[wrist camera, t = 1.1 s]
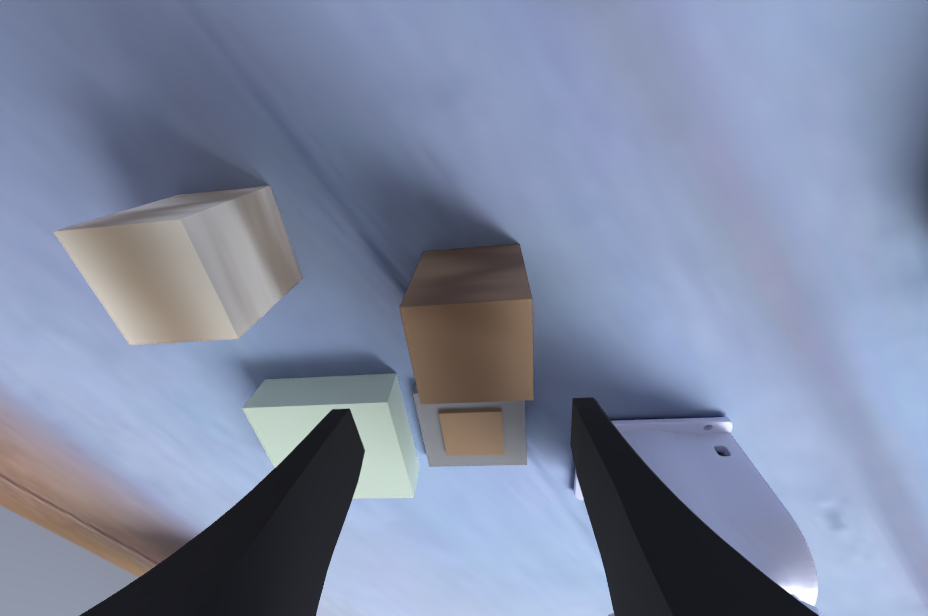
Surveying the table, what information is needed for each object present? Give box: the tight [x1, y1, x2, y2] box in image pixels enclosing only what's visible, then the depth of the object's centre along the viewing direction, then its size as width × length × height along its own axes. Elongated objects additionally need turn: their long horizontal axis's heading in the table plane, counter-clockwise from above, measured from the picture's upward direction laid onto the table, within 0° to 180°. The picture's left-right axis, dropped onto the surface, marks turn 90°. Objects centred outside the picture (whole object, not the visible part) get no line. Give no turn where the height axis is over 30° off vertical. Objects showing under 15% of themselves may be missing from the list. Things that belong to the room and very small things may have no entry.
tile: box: [413, 385, 527, 467], centre depth 24 cm, size 7×7×1 cm
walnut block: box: [399, 244, 534, 404], centre depth 17 cm, size 5×5×6 cm
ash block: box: [53, 186, 303, 345], centre depth 17 cm, size 5×5×6 cm
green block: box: [242, 373, 420, 499], centre depth 25 cm, size 9×9×3 cm
